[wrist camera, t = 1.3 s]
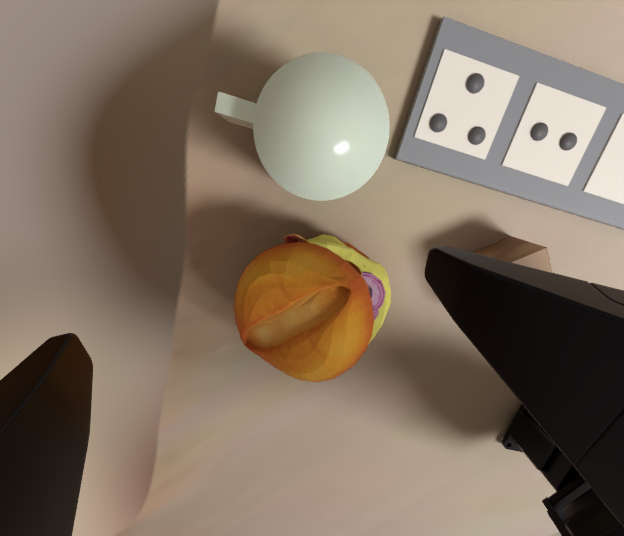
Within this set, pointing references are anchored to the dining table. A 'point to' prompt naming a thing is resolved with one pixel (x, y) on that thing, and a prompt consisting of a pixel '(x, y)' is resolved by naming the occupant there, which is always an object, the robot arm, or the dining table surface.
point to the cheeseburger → (311, 306)
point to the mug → (316, 125)
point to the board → (519, 124)
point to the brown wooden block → (519, 253)
